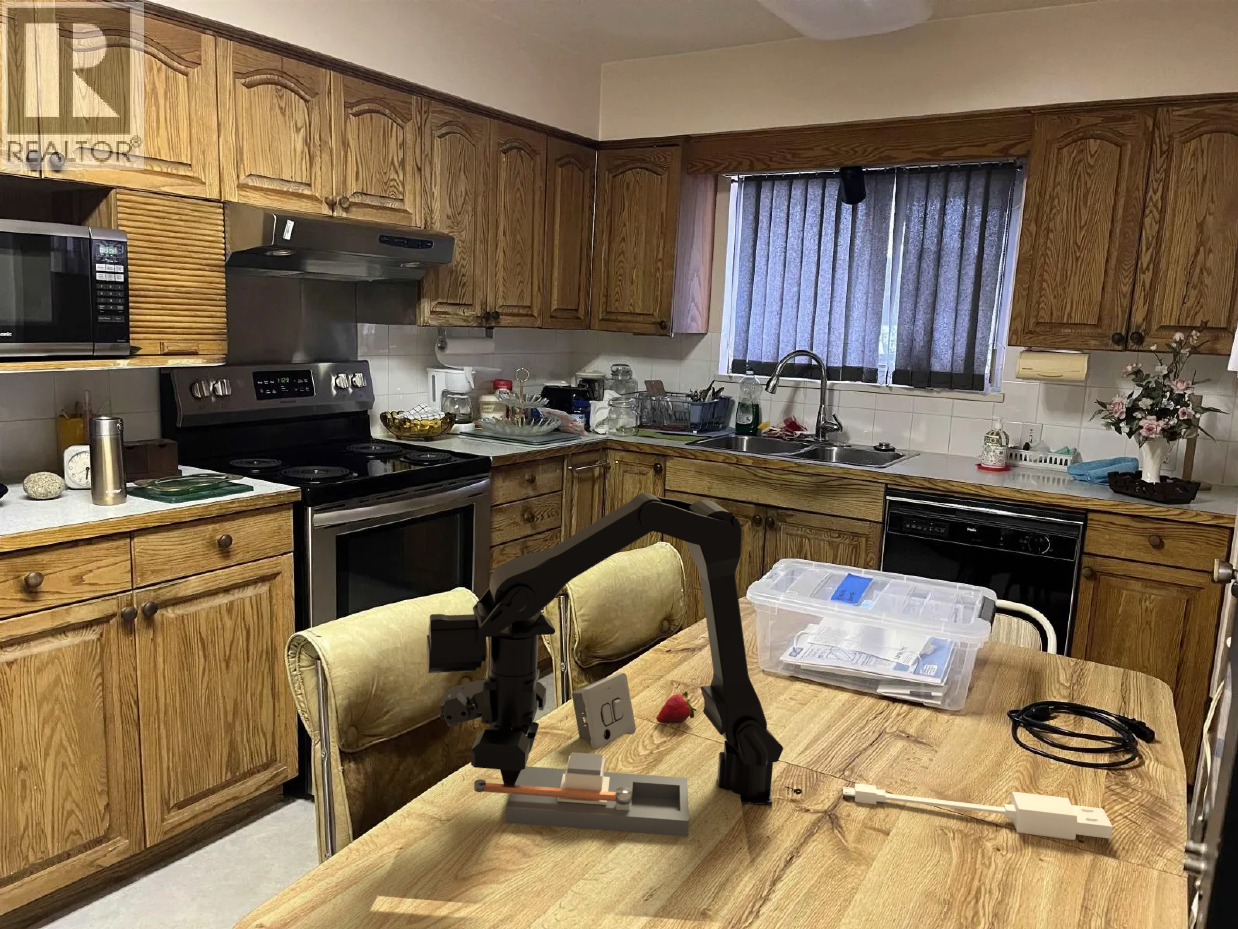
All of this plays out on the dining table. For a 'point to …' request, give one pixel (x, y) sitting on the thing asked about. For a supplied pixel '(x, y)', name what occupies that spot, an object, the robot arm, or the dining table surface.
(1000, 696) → the dining table surface
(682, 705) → the fruit
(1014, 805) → the charging cable
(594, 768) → the plug
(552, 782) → the grey socket base
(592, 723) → the electrical switch
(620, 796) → the copper link
